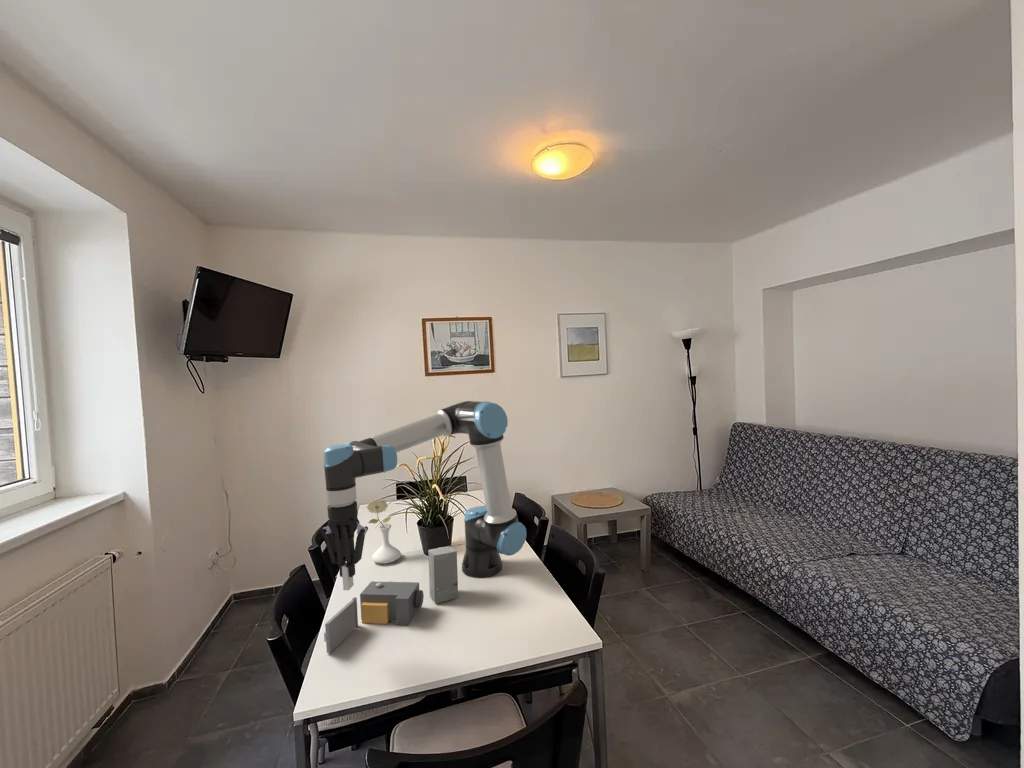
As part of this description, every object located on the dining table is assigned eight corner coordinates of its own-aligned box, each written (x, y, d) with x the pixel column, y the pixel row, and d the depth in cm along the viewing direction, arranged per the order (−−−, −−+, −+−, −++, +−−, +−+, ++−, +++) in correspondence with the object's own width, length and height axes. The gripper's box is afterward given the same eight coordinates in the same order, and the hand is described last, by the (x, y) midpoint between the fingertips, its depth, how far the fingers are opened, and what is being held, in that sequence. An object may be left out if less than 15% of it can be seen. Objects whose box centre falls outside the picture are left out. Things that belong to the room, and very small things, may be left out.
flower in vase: (405, 554, 182) (402, 494, 181) (395, 566, 171) (392, 502, 170) (374, 553, 184) (371, 494, 183) (363, 566, 172) (359, 503, 171)
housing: (425, 607, 141) (423, 580, 140) (412, 629, 129) (410, 600, 128) (370, 605, 143) (369, 579, 143) (353, 627, 131) (351, 598, 131)
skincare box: (435, 605, 142) (432, 556, 141) (428, 595, 148) (426, 549, 147) (460, 598, 146) (457, 550, 145) (452, 588, 152) (450, 543, 151)
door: (350, 626, 131) (348, 600, 131) (355, 627, 130) (354, 600, 130) (324, 652, 119) (322, 623, 119) (330, 653, 119) (328, 624, 118)
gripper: (371, 498, 122) (377, 581, 123) (327, 498, 124) (334, 580, 125) (357, 507, 114) (364, 595, 115) (311, 507, 116) (318, 594, 117)
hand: (348, 587), depth 120 cm, fingers closed
